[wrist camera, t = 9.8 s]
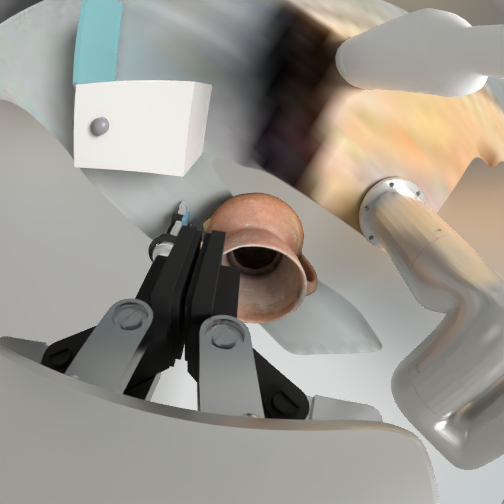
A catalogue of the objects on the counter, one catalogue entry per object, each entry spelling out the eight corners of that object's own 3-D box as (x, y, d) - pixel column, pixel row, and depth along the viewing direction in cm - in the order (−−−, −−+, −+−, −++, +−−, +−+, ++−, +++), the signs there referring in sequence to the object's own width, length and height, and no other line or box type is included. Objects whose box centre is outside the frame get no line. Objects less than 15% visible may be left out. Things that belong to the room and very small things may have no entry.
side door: (116, 5, 22) (81, -9, 14) (123, 4, 22) (90, -12, 14) (107, 86, 29) (69, 90, 21) (115, 85, 29) (77, 88, 21)
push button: (168, 197, 40) (146, 228, 32) (202, 203, 41) (187, 236, 32) (165, 234, 44) (146, 271, 35) (197, 240, 44) (183, 279, 36)
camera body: (212, 84, 31) (193, 81, 21) (202, 153, 36) (181, 178, 26) (110, 82, 30) (61, 86, 20) (105, 145, 35) (61, 169, 25)
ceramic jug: (188, 243, 44) (167, 305, 33) (223, 166, 37) (209, 208, 25) (283, 281, 49) (291, 345, 37) (329, 217, 42) (357, 274, 30)
